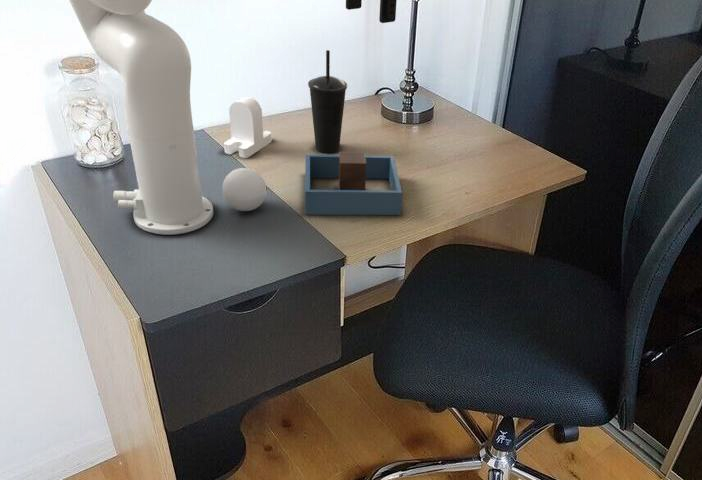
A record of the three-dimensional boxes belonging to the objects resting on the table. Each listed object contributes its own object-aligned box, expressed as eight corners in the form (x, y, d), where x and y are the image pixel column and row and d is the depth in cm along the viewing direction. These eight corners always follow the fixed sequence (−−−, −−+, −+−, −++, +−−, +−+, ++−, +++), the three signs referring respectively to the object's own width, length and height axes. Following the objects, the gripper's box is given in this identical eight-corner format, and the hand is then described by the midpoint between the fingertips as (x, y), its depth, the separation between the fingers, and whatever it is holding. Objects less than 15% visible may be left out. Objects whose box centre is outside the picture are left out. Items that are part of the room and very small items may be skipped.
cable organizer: (223, 152, 130) (218, 104, 124) (250, 135, 138) (247, 89, 132) (246, 158, 129) (242, 109, 123) (272, 140, 136) (270, 94, 130)
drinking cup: (348, 142, 138) (351, 47, 127) (342, 158, 132) (344, 58, 120) (313, 138, 139) (312, 42, 127) (305, 153, 132) (303, 54, 121)
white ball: (274, 214, 112) (272, 175, 108) (232, 222, 109) (228, 183, 105) (254, 188, 119) (252, 151, 115) (214, 195, 116) (210, 157, 111)
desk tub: (305, 214, 113) (305, 191, 110) (306, 176, 125) (305, 154, 122) (400, 215, 115) (402, 192, 113) (392, 177, 127) (393, 156, 124)
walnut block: (339, 200, 118) (339, 163, 113) (338, 188, 121) (339, 151, 117) (364, 201, 118) (366, 163, 114) (363, 189, 122) (364, 152, 118)
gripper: (324, -102, 110) (324, 5, 120) (390, -86, 100) (384, 30, 109) (360, -102, 114) (357, 2, 124) (426, -87, 104) (417, 25, 114)
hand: (370, 15), depth 117 cm, fingers open, 9 cm apart
